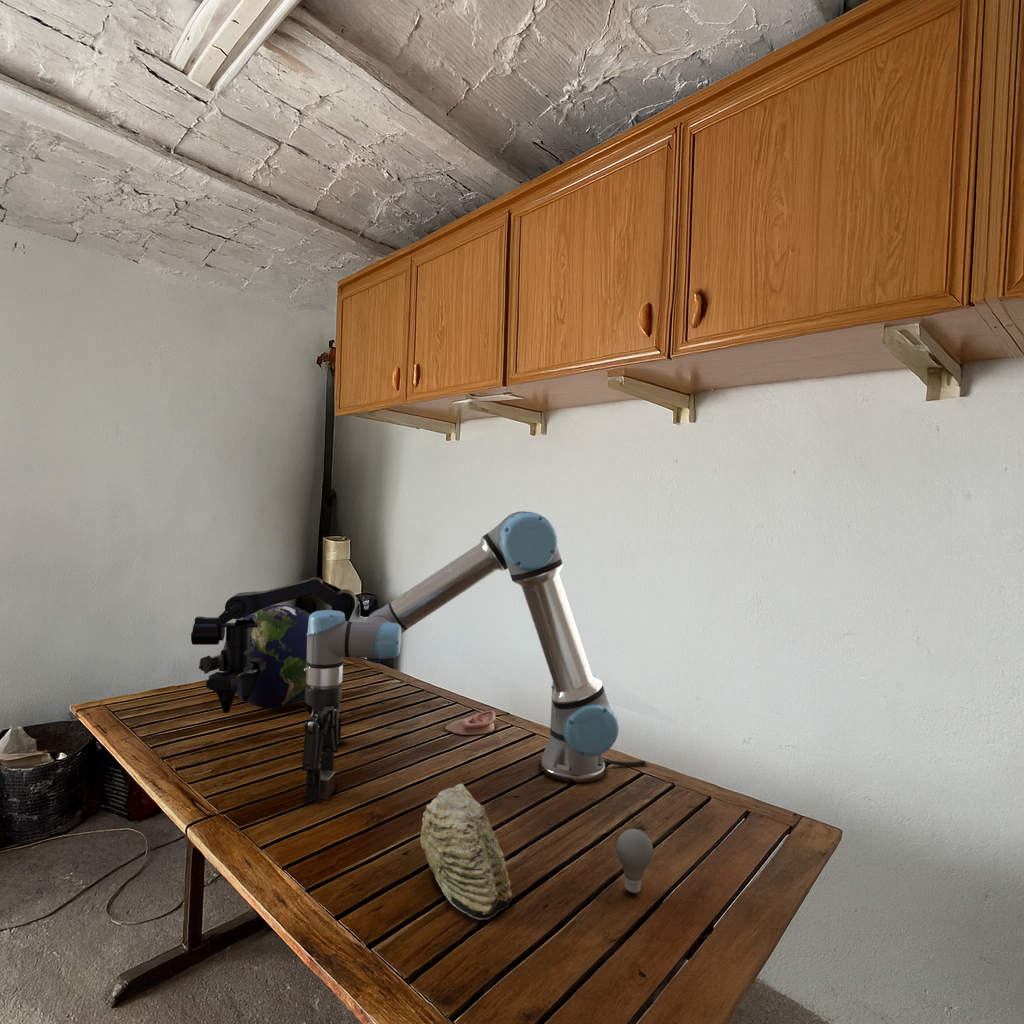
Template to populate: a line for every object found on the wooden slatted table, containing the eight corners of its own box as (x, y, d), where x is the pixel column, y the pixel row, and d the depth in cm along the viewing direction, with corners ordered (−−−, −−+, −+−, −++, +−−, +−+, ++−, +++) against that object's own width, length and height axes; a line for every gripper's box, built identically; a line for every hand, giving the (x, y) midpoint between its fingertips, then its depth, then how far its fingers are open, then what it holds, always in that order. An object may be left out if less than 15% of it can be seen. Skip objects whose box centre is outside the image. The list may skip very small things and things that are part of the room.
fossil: (447, 853, 114) (450, 771, 114) (521, 902, 101) (525, 809, 101) (406, 873, 108) (410, 785, 107) (480, 928, 95) (484, 828, 94)
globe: (289, 685, 209) (292, 594, 208) (348, 705, 191) (352, 606, 191) (199, 706, 185) (203, 604, 184) (258, 732, 167) (262, 619, 167)
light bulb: (610, 879, 108) (613, 822, 108) (644, 879, 109) (647, 822, 109) (619, 902, 102) (622, 840, 102) (655, 901, 103) (658, 840, 103)
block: (313, 788, 137) (314, 769, 137) (334, 790, 137) (335, 771, 137) (305, 798, 133) (306, 778, 133) (326, 800, 133) (327, 780, 132)
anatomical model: (442, 717, 173) (454, 704, 184) (441, 732, 173) (453, 718, 184) (489, 723, 170) (498, 710, 181) (488, 738, 170) (498, 723, 181)
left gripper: (226, 634, 167) (224, 693, 168) (184, 651, 149) (182, 717, 149) (267, 637, 166) (265, 696, 167) (230, 654, 148) (228, 720, 148)
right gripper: (324, 670, 145) (320, 770, 145) (286, 697, 125) (282, 812, 125) (356, 672, 144) (352, 772, 145) (323, 700, 124) (319, 815, 125)
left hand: (235, 706), depth 158 cm, fingers open, 9 cm apart
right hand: (319, 791), depth 135 cm, fingers open, 7 cm apart
